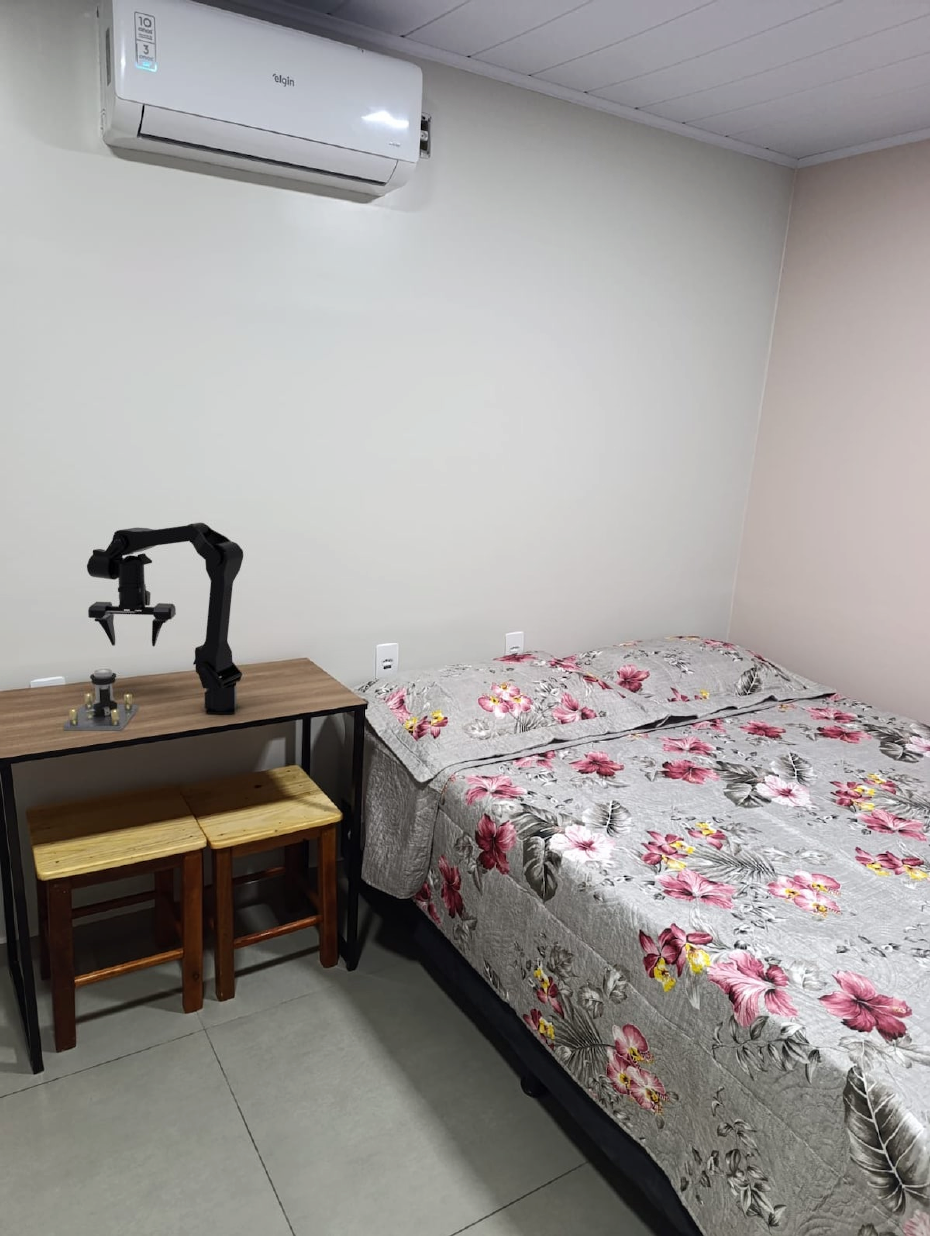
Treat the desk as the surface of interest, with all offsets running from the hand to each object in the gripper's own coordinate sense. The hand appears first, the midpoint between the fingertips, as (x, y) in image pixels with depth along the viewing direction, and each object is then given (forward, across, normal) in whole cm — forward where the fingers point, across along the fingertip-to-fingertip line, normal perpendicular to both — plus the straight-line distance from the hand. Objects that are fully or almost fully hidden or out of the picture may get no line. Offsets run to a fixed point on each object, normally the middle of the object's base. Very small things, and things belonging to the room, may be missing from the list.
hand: (133, 645), depth 204 cm
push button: (+12, +3, +17) cm, 21 cm away
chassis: (+12, +3, +17) cm, 21 cm away
